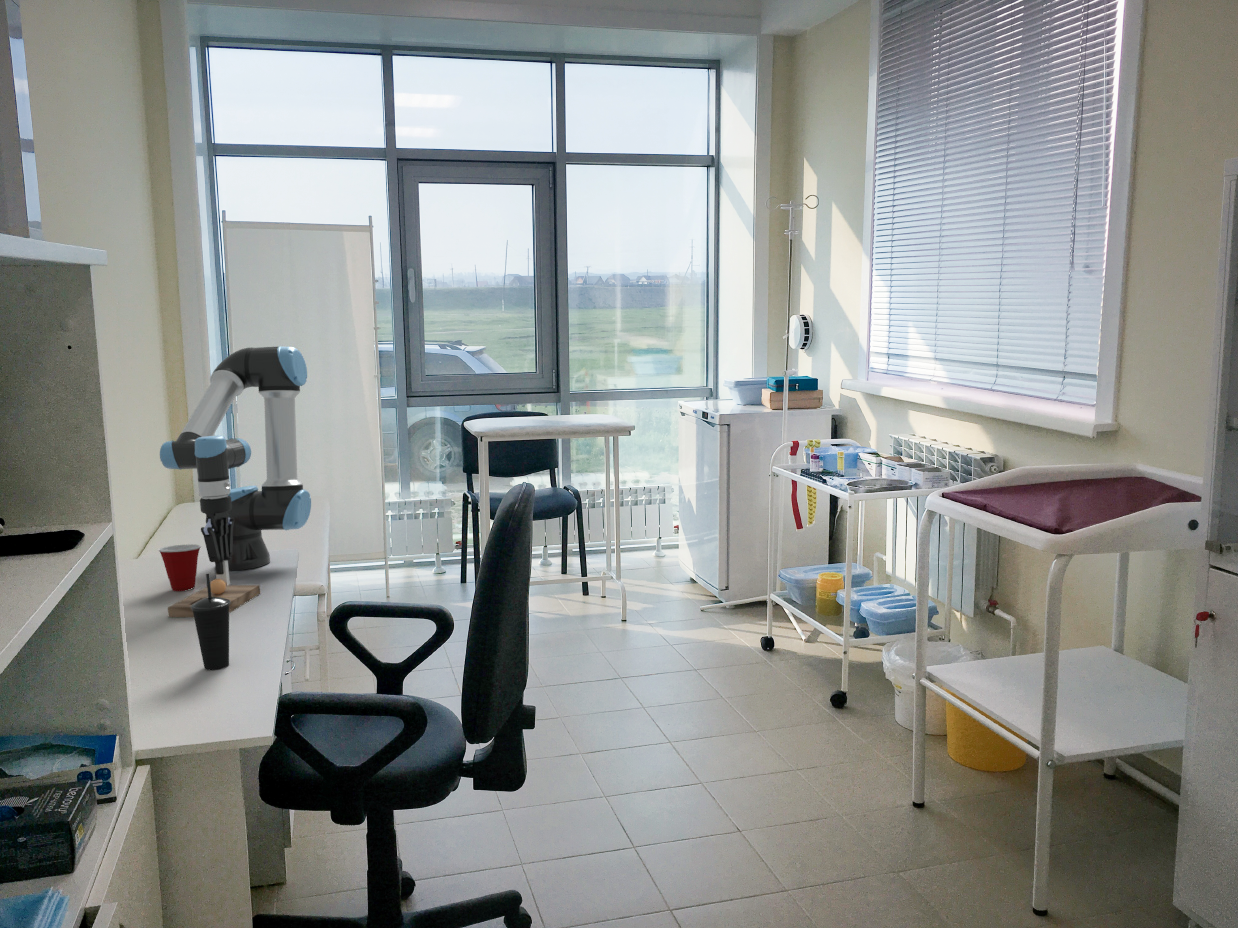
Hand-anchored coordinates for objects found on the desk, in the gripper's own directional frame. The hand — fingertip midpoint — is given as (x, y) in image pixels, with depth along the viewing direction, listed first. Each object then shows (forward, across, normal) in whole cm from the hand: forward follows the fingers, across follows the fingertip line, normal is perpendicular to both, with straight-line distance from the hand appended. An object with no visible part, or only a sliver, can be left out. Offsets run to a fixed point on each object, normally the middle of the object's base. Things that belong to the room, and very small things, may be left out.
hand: (223, 585), depth 256 cm
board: (+4, -4, 0) cm, 6 cm away
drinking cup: (+5, -48, -24) cm, 54 cm away
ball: (0, -3, 0) cm, 3 cm away
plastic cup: (+4, +12, +18) cm, 22 cm away
